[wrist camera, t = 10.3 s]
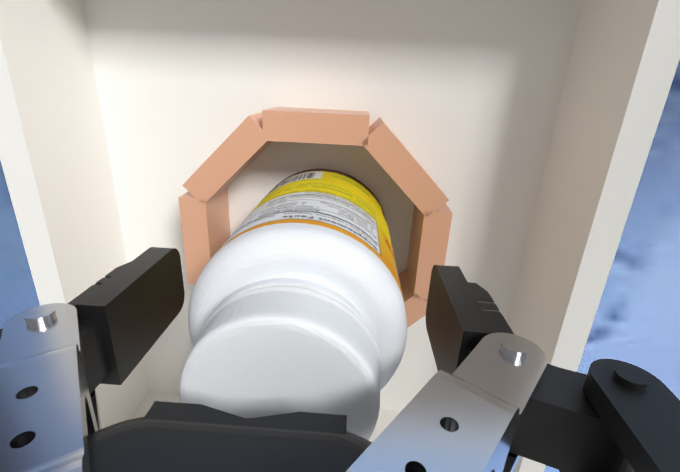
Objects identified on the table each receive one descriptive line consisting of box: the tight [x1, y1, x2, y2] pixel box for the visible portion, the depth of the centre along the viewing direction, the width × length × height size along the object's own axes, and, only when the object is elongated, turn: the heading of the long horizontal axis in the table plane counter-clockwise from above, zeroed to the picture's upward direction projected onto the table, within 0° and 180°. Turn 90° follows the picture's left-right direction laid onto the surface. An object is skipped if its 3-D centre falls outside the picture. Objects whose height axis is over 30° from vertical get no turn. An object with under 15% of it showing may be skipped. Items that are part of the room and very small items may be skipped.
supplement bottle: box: [180, 168, 407, 440], centre depth 12 cm, size 6×6×10 cm
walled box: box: [0, 0, 680, 472], centre depth 16 cm, size 22×20×5 cm
